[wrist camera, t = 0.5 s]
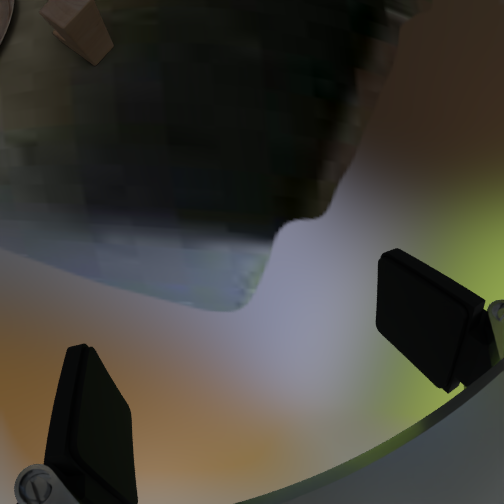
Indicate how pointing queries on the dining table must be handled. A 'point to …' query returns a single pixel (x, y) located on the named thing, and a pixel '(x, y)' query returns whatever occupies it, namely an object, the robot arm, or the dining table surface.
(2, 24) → the plant saucer
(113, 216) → the dining table surface
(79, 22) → the wooden block
